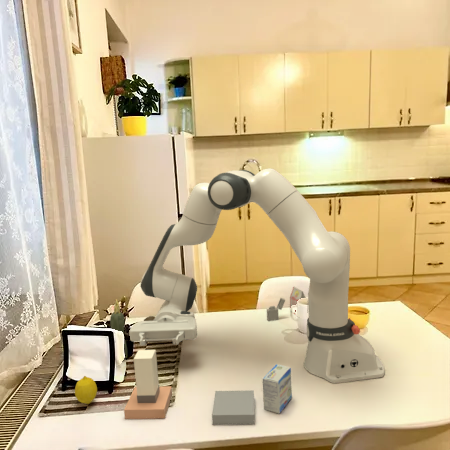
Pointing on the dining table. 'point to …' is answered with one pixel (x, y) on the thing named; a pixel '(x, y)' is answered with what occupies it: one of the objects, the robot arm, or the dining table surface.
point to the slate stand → (233, 407)
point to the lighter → (274, 311)
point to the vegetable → (118, 321)
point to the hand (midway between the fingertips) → (158, 342)
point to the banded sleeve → (146, 376)
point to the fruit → (85, 390)
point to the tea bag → (296, 296)
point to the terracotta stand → (149, 405)
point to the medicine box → (277, 388)
